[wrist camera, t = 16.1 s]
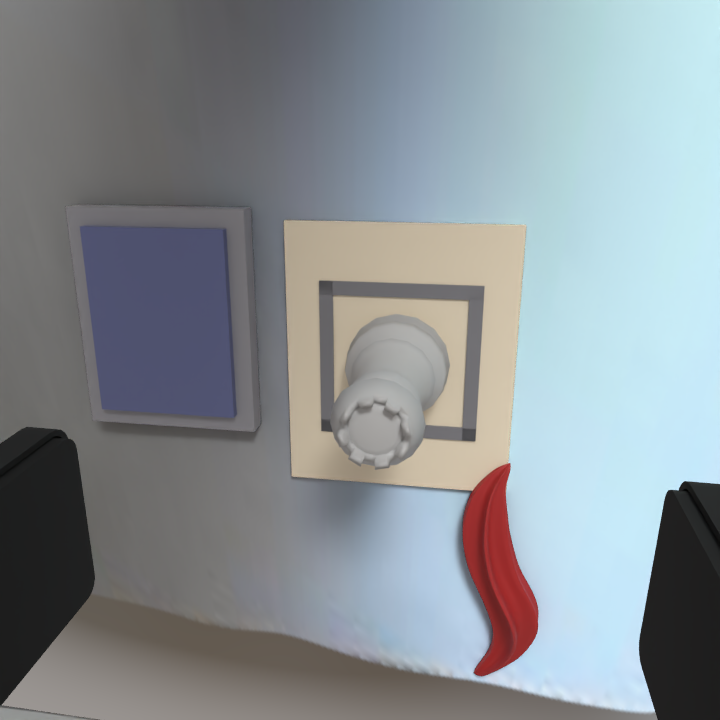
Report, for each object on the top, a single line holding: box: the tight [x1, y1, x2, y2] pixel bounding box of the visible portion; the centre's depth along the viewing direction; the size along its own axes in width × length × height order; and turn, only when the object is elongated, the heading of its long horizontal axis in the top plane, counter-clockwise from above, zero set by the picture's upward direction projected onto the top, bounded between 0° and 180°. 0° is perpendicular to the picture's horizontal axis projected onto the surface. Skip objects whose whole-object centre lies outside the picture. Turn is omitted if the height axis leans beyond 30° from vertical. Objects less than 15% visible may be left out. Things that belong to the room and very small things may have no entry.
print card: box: [284, 220, 526, 491], centre depth 30 cm, size 12×10×1 cm
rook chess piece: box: [330, 314, 450, 470], centre depth 26 cm, size 4×4×8 cm
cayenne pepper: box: [463, 463, 538, 676], centre depth 31 cm, size 12×5×2 cm, turn 171°
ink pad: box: [65, 204, 261, 432], centre depth 30 cm, size 10×8×1 cm
